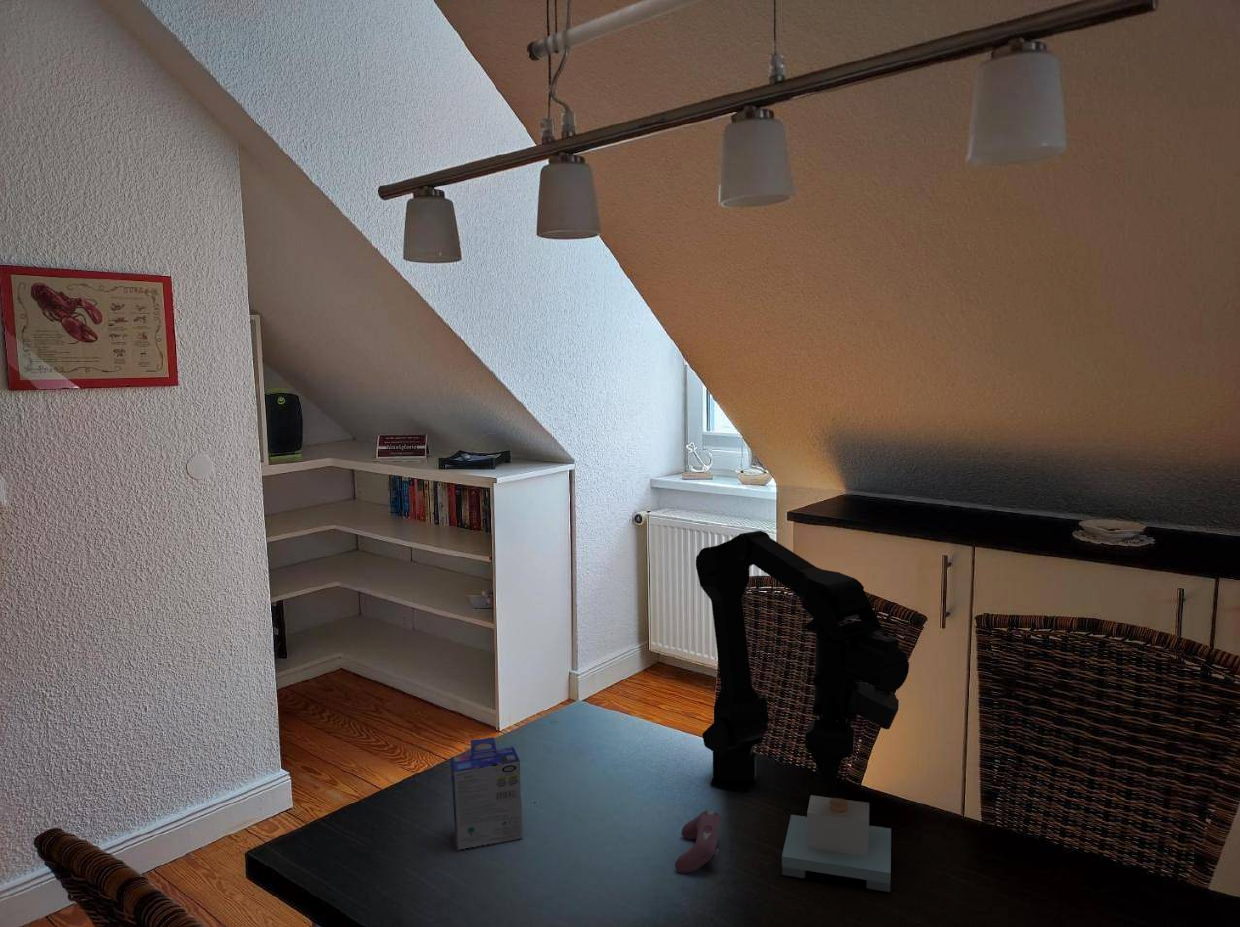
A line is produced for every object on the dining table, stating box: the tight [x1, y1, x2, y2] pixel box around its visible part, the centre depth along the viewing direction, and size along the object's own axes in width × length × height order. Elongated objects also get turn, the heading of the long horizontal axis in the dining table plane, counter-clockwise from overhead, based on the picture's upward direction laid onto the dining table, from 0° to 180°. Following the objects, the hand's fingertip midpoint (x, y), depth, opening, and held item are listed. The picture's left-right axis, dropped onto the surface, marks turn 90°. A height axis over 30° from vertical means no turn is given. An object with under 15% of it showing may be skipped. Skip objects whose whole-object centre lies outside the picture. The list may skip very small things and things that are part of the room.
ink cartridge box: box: [449, 737, 524, 851], centre depth 128 cm, size 10×6×14 cm, turn 108°
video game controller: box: [674, 809, 722, 874], centre depth 122 cm, size 10×5×7 cm, turn 170°
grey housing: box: [806, 794, 870, 857], centre depth 119 cm, size 5×8×6 cm, turn 72°
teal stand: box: [781, 814, 892, 893], centre depth 120 cm, size 14×11×3 cm
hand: (833, 772), depth 124 cm, fingers open, 9 cm apart
